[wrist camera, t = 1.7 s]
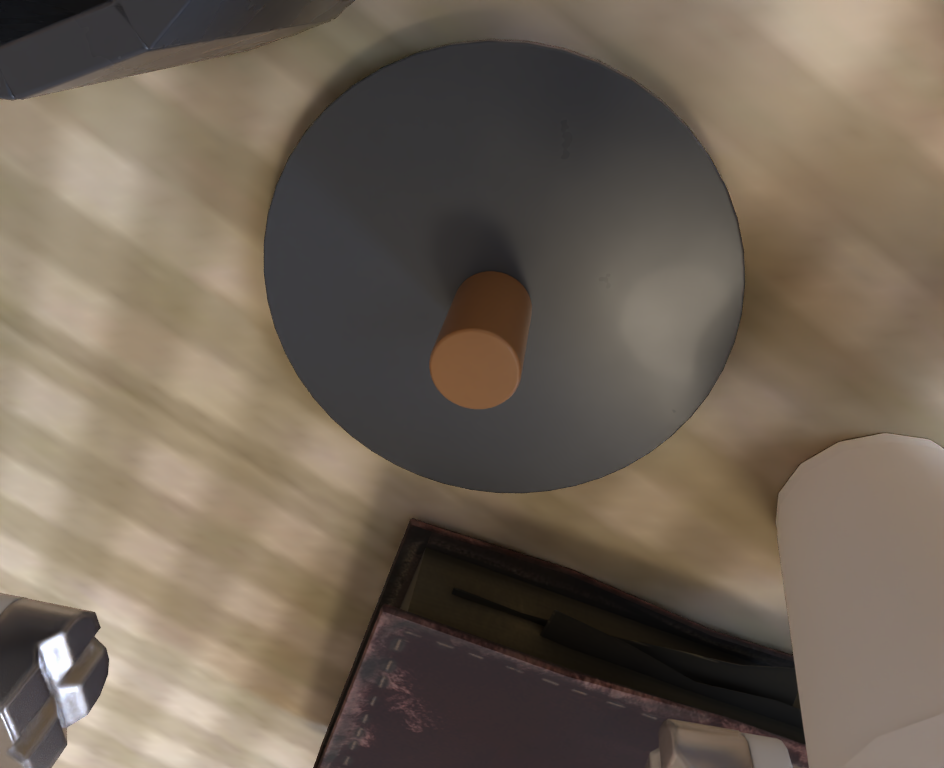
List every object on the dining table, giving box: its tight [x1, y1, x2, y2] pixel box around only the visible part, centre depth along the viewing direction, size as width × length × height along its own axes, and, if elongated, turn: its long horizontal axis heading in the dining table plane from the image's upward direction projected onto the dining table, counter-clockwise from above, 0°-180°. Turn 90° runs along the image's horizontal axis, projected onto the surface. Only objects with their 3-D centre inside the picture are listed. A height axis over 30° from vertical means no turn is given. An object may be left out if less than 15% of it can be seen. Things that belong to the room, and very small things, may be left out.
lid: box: [264, 39, 745, 493], centre depth 20 cm, size 15×15×5 cm
